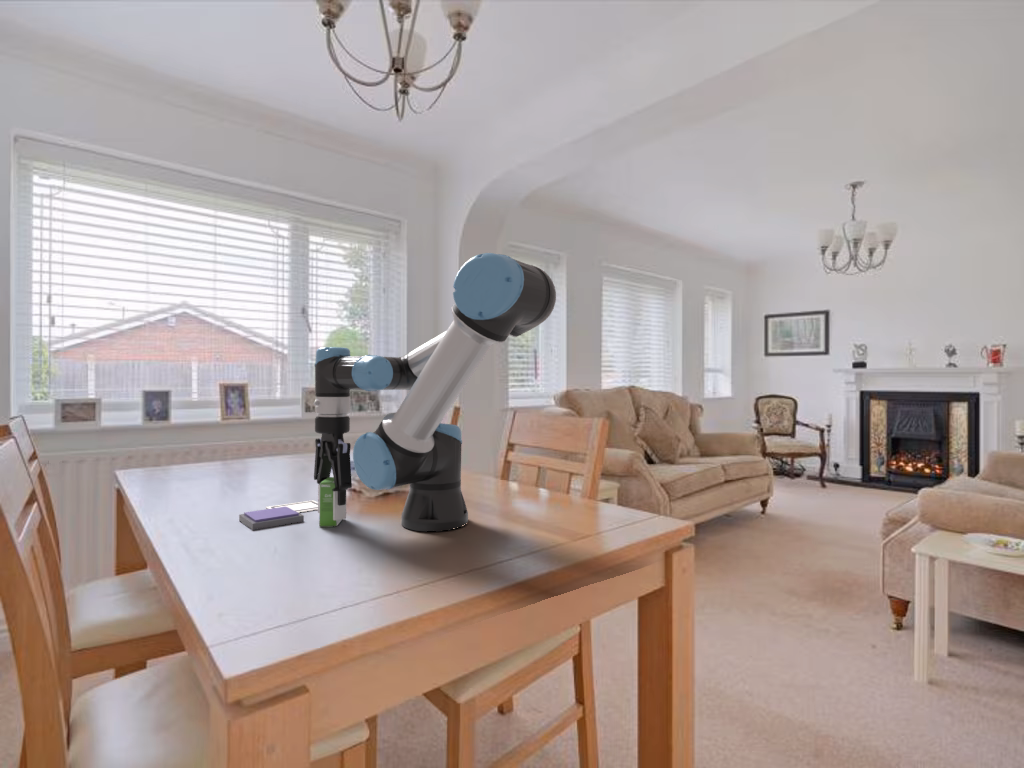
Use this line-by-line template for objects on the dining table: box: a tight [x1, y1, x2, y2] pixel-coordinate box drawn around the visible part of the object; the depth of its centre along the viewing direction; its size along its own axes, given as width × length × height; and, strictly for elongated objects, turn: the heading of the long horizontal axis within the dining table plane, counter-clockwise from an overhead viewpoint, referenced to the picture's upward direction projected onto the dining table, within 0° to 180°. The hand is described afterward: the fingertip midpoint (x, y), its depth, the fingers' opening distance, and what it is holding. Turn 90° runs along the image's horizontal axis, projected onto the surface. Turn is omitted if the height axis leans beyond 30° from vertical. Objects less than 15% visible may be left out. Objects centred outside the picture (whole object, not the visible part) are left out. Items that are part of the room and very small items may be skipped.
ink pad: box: [238, 507, 305, 531], centre depth 125 cm, size 10×11×2 cm
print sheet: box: [265, 499, 318, 514], centre depth 137 cm, size 10×12×1 cm
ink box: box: [318, 476, 343, 528], centre depth 124 cm, size 7×4×13 cm, turn 5°
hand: (331, 515), depth 124 cm, fingers closed on ink box, 8 cm apart
